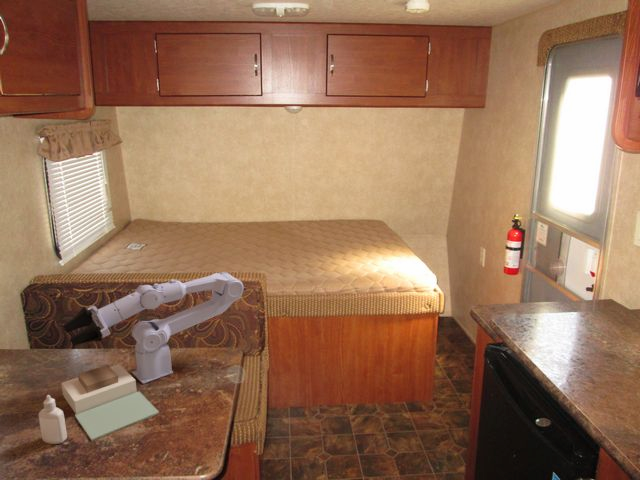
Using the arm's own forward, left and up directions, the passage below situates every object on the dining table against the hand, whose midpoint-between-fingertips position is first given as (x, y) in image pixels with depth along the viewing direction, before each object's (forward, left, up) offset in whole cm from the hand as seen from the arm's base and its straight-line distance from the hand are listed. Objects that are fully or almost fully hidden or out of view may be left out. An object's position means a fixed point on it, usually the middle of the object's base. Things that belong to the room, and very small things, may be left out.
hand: (68, 335), depth 135 cm
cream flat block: (-5, +3, -18) cm, 19 cm away
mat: (-5, +16, -18) cm, 25 cm away
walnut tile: (-5, +3, -14) cm, 16 cm away
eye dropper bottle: (+10, +16, -19) cm, 27 cm away
